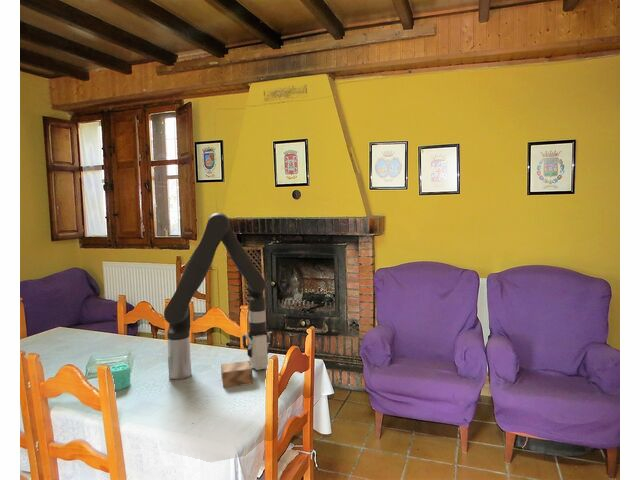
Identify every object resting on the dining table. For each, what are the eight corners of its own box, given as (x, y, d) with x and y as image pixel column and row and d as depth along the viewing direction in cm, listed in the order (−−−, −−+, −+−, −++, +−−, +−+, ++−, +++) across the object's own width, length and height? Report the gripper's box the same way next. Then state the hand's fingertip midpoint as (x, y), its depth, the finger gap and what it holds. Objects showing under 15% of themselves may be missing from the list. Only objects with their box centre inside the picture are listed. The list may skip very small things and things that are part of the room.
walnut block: (223, 387, 171) (222, 372, 170) (221, 377, 181) (221, 363, 180) (252, 383, 175) (252, 368, 174) (249, 374, 184) (249, 360, 184)
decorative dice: (109, 384, 177) (108, 365, 176) (130, 380, 179) (129, 362, 179) (107, 391, 169) (106, 372, 168) (129, 388, 172) (128, 369, 171)
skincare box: (268, 367, 189) (267, 335, 187) (256, 370, 185) (255, 337, 184) (260, 361, 195) (259, 330, 194) (248, 364, 192) (247, 333, 191)
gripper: (242, 323, 183) (243, 360, 184) (274, 320, 187) (275, 356, 188) (240, 319, 190) (241, 354, 191) (271, 316, 194) (272, 351, 196)
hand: (258, 355), depth 190 cm, fingers closed on skincare box, 6 cm apart
